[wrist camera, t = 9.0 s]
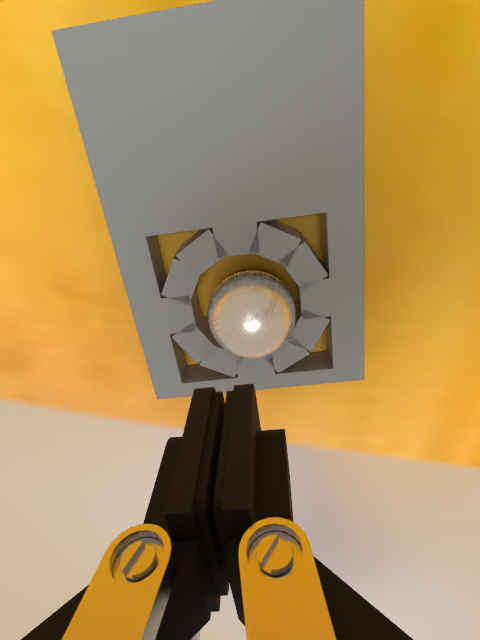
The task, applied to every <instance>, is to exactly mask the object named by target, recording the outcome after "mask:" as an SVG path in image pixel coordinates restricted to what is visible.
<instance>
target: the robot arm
mask: <svg viewBox="0 0 480 640" xmlns="http://www.w3.org/2000/svg"><path fill="white" fill-rule="evenodd" d="M229 583H230V587H231V591H232V594H233V598H234V602H235V606H236V610H237V614H238V618H239V620H240V621H241V622H242V623H243V624H244V626H245V627H246V637H247V640H413V639H412V638H411V637H409V636H408V635H407V634H406V633H404V632H403V631H402V630H401V629H400V628H399V627H397V626H396V625H395V624H394V623H393V622H391V621H390V620H389V619H388V618H387V617H385V616H384V615H383V614H382V613H380V611H378V610H377V609H376V608H375V607H374V606H372V605H371V604H370V603H369V602H367V601H366V600H365V599H364V598H363V597H362V596H360V595H359V594H358V593H357V592H355V591H354V590H353V589H352V588H351V587H349V586H348V585H347V584H346V583H345V582H344V581H342V580H341V579H340V578H339V577H338V576H336V575H335V574H334V573H333V572H332V571H330V570H329V569H328V568H327V567H326V566H325V565H323V564H322V563H321V562H320V561H319V560H317V559H316V558H315V557H314V556H313V554H312V550H311V546H310V543H309V541H308V538H307V536H306V534H305V532H304V531H303V530H302V529H301V528H300V527H299V526H298V525H297V524H295V523H293V512H292V499H291V487H290V475H289V464H288V454H287V445H286V436H285V429H279V430H266V431H261V427H260V420H259V414H258V407H257V400H256V394H255V388H254V384H242V385H234V390H233V391H227V395H226V403H225V402H224V397H223V393H222V392H216V390H215V388H214V387H208V388H196V389H194V392H193V396H192V400H191V404H190V408H189V412H188V416H187V420H186V425H185V429H184V433H183V437H172V438H169V439H168V441H167V444H166V447H165V451H164V454H163V458H162V461H161V464H160V468H159V471H158V475H157V478H156V482H155V485H154V489H153V492H152V496H151V499H150V503H149V506H148V509H147V513H146V516H145V520H144V523H143V524H140V525H137V526H134V527H131V528H129V529H127V530H126V531H124V532H123V533H121V534H120V535H119V536H118V537H117V538H116V539H115V540H114V541H113V542H112V543H111V544H110V546H109V547H108V549H107V551H106V552H105V554H104V556H103V558H102V560H101V563H100V564H99V566H98V568H97V570H96V572H95V574H94V576H93V578H92V580H91V582H90V584H89V585H88V586H87V587H85V588H84V589H83V590H82V591H80V592H79V593H78V594H77V595H76V596H75V597H73V598H72V599H71V600H69V601H68V602H67V603H66V604H64V605H63V606H62V607H61V608H59V609H58V610H57V611H56V612H54V613H53V614H52V615H51V616H50V617H48V618H47V619H46V620H45V621H43V622H42V623H41V624H40V625H38V626H37V627H36V628H35V629H33V630H32V631H31V632H30V633H29V634H27V635H26V636H25V637H24V638H22V639H21V640H199V637H200V630H201V628H202V627H203V626H204V625H205V624H206V623H207V622H208V621H209V620H210V615H211V611H219V608H220V597H221V596H223V595H228V591H229Z"/></svg>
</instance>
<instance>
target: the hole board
mask: <svg viewBox="0 0 480 640" xmlns="http://www.w3.org/2000/svg"><path fill="white" fill-rule="evenodd" d="M52 34H53V38H54V41H55V45H56V48H57V52H58V55H59V58H60V62H61V65H62V69H63V72H64V76H65V79H66V83H67V86H68V90H69V93H70V97H71V100H72V104H73V107H74V111H75V114H76V118H77V121H78V125H79V128H80V132H81V135H82V139H83V142H84V146H85V149H86V153H87V156H88V160H89V163H90V167H91V170H92V174H93V177H94V181H95V184H96V188H97V191H98V194H99V198H100V201H101V205H102V208H103V212H104V215H105V219H106V222H107V226H108V229H109V233H110V236H111V240H112V243H113V247H114V250H115V254H116V257H117V261H118V264H119V268H120V271H121V275H122V278H123V282H124V285H125V289H126V292H127V296H128V299H129V303H130V306H131V310H132V313H133V317H134V320H135V324H136V327H137V331H138V334H139V337H140V341H141V344H142V348H143V351H144V355H145V358H146V362H147V365H148V369H149V372H150V376H151V379H152V383H153V386H154V390H155V393H156V397H157V399H164V398H175V397H185V396H193V392H194V389H196V388H208V387H214V388H215V390H216V392H222V393H227V391H233V390H234V385H242V384H254V388H255V390H259V389H270V388H280V387H291V386H301V385H312V384H322V383H333V382H343V381H354V380H364V0H216V1H210V2H205V3H199V4H194V5H188V6H183V7H178V8H172V9H167V10H161V11H156V12H151V13H145V14H140V15H134V16H129V17H124V18H118V19H113V20H107V21H102V22H96V23H91V24H86V25H80V26H75V27H69V28H64V29H59V30H53V31H52ZM319 213H321V223H322V244H323V263H322V262H321V260H320V259H319V257H318V256H317V255H316V253H315V252H314V250H313V249H312V248H311V246H310V245H309V243H308V242H307V241H306V239H305V238H304V236H303V235H302V234H301V232H300V233H299V232H298V230H297V229H294V228H292V227H290V226H287V225H285V224H283V223H280V222H278V221H275V220H274V219H281V218H289V217H296V216H304V215H312V214H319ZM199 229H201V230H200V231H199V232H197V233H196V234H195V235H194V236H192V237H191V238H190V239H188V240H187V241H186V242H185V243H183V244H182V245H181V247H180V248H179V250H178V252H177V253H176V255H175V257H174V258H173V261H172V264H171V267H170V270H169V273H168V276H167V279H166V275H165V271H164V266H163V262H162V258H161V254H160V249H159V245H158V241H157V237H156V235H161V234H169V233H176V232H184V231H191V230H199ZM253 253H254V254H257V255H259V256H262V257H264V258H267V259H269V260H272V261H274V262H277V263H279V264H282V265H283V266H284V268H285V269H286V270H287V272H288V273H289V274H290V275H291V277H292V278H293V279H294V281H295V282H296V283H297V291H298V301H297V303H296V305H295V309H296V319H295V325H294V328H293V331H292V333H291V335H290V337H289V339H288V340H287V341H286V343H285V344H284V345H283V346H282V347H281V348H280V349H278V350H277V351H275V352H274V353H272V354H270V355H268V356H265V357H261V358H243V357H239V356H236V355H233V354H231V353H230V352H228V351H226V350H225V349H224V348H223V347H221V346H220V344H219V343H218V342H217V341H216V339H215V338H214V337H213V335H212V333H211V330H210V327H209V323H208V319H207V318H206V317H205V316H204V315H203V314H202V313H201V312H200V308H199V303H198V298H197V293H196V288H195V287H196V284H197V282H198V279H199V277H200V275H201V274H202V273H203V272H205V271H206V270H207V269H209V268H210V267H211V266H213V265H214V264H215V263H217V262H218V261H219V260H221V259H222V258H223V257H230V256H237V255H245V254H253ZM323 264H324V265H323ZM326 326H327V346H328V351H325V352H315V353H309V351H313V349H314V347H315V346H316V344H317V342H318V340H319V339H320V337H321V335H322V333H323V332H324V330H325V328H326ZM183 350H184V351H185V352H186V353H187V354H188V355H189V356H190V357H191V358H192V359H193V360H194V361H195V362H196V363H198V362H199V361H200V364H197V365H188V366H187V364H186V360H185V356H184V351H183Z"/></svg>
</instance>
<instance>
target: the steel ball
mask: <svg viewBox="0 0 480 640" xmlns="http://www.w3.org/2000/svg"><path fill="white" fill-rule="evenodd" d="M295 319H296V309H295V304H294V300H293V298H292V295H291V294H290V292H289V290H288V289H287V287H286V286H285V285H284V284H283V283H282V282H281V281H280V280H279V279H277V278H276V277H274V276H273V275H271V274H268V273H265V272H262V271H256V270H247V271H241V272H238V273H235V274H233V275H231V276H229V277H227V278H226V279H225V280H223V281H222V282H221V283H220V284H219V285H218V286H217V288H216V289H215V291H214V292H213V294H212V296H211V298H210V301H209V305H208V323H209V327H210V330H211V333H212V335H213V337H214V338H215V339H216V341H217V342H218V343H219V344H220V346H221V347H223V348H224V349H225V350H226V351H228V352H230V353H231V354H233V355H236V356H239V357H243V358H261V357H265V356H268V355H270V354H272V353H274V352H275V351H277V350H278V349H280V348H281V347H282V346H283V345H284V344H285V343H286V341H287V340H288V339H289V337H290V335H291V333H292V331H293V328H294V325H295Z"/></svg>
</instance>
